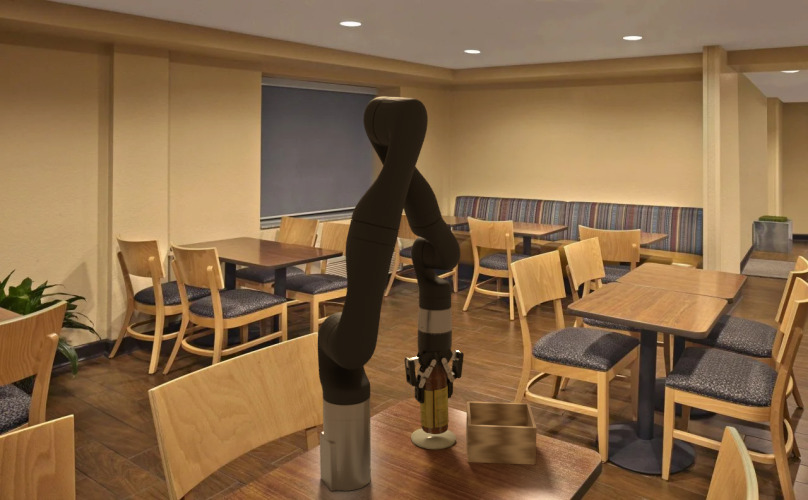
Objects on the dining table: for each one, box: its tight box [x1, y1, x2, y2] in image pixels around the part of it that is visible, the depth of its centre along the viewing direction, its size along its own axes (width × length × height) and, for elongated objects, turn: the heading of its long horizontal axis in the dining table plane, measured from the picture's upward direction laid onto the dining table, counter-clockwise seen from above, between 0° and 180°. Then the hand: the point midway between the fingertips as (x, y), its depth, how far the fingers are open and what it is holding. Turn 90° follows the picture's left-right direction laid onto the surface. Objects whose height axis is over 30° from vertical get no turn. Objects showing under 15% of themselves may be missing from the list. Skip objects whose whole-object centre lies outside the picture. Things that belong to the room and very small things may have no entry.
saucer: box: [410, 427, 457, 450], centre depth 146 cm, size 10×10×1 cm
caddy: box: [465, 400, 538, 465], centre depth 140 cm, size 14×13×8 cm
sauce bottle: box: [419, 352, 449, 434], centre depth 144 cm, size 6×6×20 cm
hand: (434, 399), depth 144 cm, fingers closed on sauce bottle, 6 cm apart
